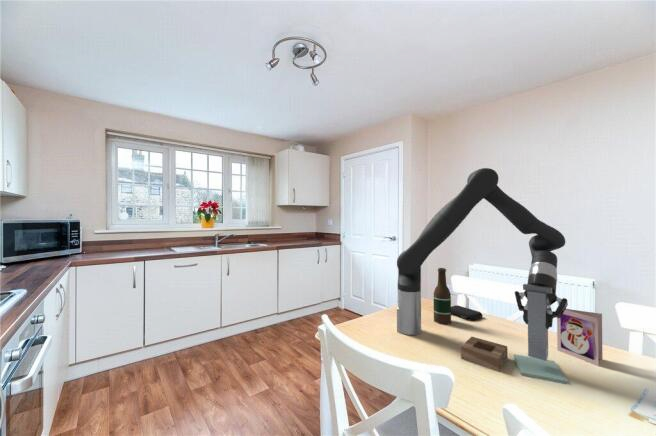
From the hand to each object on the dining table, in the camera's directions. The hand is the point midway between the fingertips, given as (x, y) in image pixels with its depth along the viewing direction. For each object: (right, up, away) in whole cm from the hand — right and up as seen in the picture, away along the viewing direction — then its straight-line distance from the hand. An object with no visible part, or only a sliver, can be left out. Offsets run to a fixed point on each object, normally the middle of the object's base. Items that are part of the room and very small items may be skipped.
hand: (536, 325), depth 83 cm
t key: (+2, -10, +1) cm, 10 cm away
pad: (+1, -14, +1) cm, 14 cm away
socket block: (-12, -14, +8) cm, 20 cm away
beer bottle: (-12, -15, +41) cm, 45 cm away
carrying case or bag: (+1, -15, +48) cm, 51 cm away
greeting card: (+22, -14, +9) cm, 28 cm away
